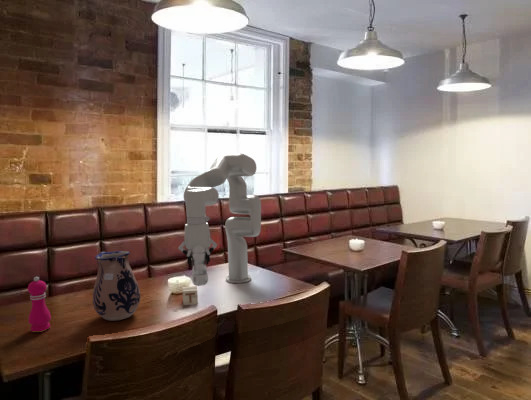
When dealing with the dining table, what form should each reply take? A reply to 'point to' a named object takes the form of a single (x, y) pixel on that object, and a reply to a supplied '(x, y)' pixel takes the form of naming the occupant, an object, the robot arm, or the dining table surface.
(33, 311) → the pepper mill
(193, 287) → the beige cube
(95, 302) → the ceramic pitcher
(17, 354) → the dining table surface
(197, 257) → the silver metal bottle
